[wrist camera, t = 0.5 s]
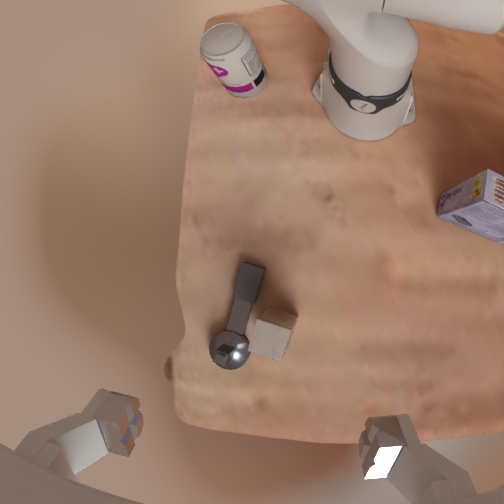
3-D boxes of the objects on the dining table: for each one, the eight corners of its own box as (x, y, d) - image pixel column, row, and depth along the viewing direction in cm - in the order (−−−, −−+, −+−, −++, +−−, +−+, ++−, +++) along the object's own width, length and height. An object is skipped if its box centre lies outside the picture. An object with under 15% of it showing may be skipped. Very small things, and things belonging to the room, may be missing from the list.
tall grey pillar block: (270, 306, 54) (257, 319, 45) (298, 315, 53) (291, 330, 43) (262, 333, 55) (247, 350, 45) (289, 342, 54) (280, 362, 44)
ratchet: (244, 371, 56) (234, 384, 49) (209, 357, 57) (195, 369, 51) (274, 271, 54) (267, 274, 48) (236, 259, 56) (223, 260, 49)
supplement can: (241, 107, 55) (213, 68, 41) (219, 80, 56) (187, 40, 42) (277, 83, 53) (258, 38, 39) (252, 57, 55) (229, 12, 40)
